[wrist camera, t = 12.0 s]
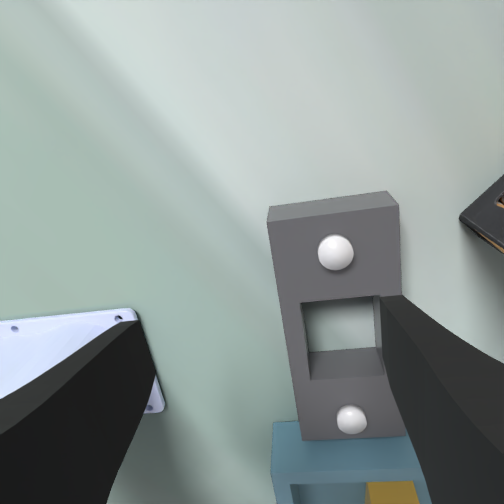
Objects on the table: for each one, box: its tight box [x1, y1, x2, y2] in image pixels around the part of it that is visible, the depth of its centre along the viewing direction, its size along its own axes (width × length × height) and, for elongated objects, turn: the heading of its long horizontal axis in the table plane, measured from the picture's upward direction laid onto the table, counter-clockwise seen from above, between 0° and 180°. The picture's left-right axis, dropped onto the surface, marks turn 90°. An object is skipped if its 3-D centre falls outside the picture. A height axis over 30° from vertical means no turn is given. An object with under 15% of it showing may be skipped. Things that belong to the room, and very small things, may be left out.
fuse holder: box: [267, 191, 406, 441], centre depth 22 cm, size 6×14×3 cm, turn 10°
